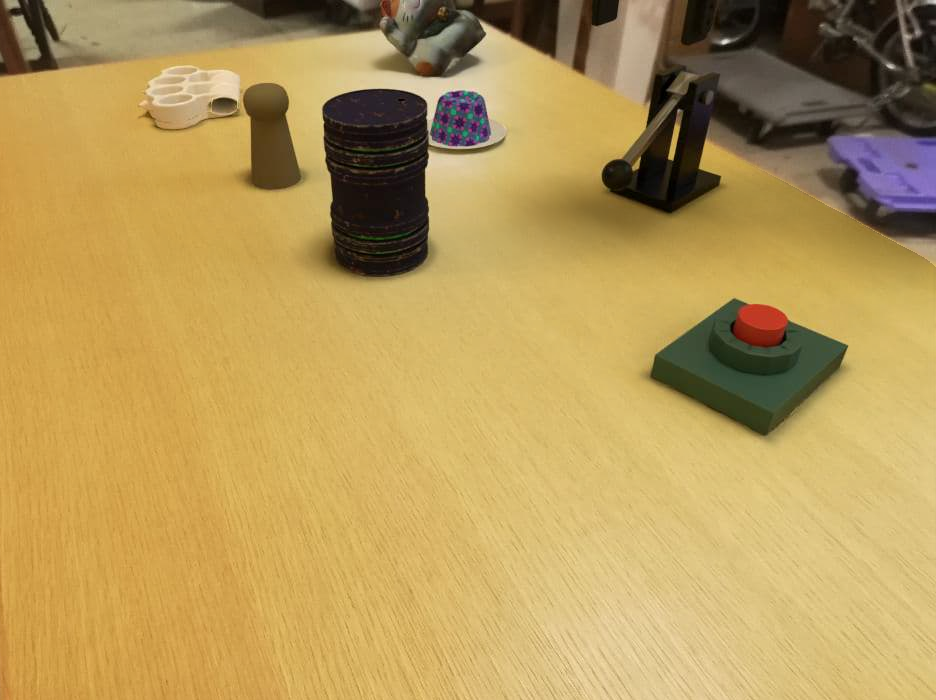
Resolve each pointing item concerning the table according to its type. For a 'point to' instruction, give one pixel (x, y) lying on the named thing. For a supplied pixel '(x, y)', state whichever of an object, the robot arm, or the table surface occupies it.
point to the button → (760, 325)
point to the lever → (647, 135)
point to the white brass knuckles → (191, 95)
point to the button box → (747, 368)
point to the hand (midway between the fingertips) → (646, 32)
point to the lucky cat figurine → (430, 32)
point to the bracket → (681, 176)
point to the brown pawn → (270, 137)
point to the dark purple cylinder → (378, 179)
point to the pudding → (463, 122)
